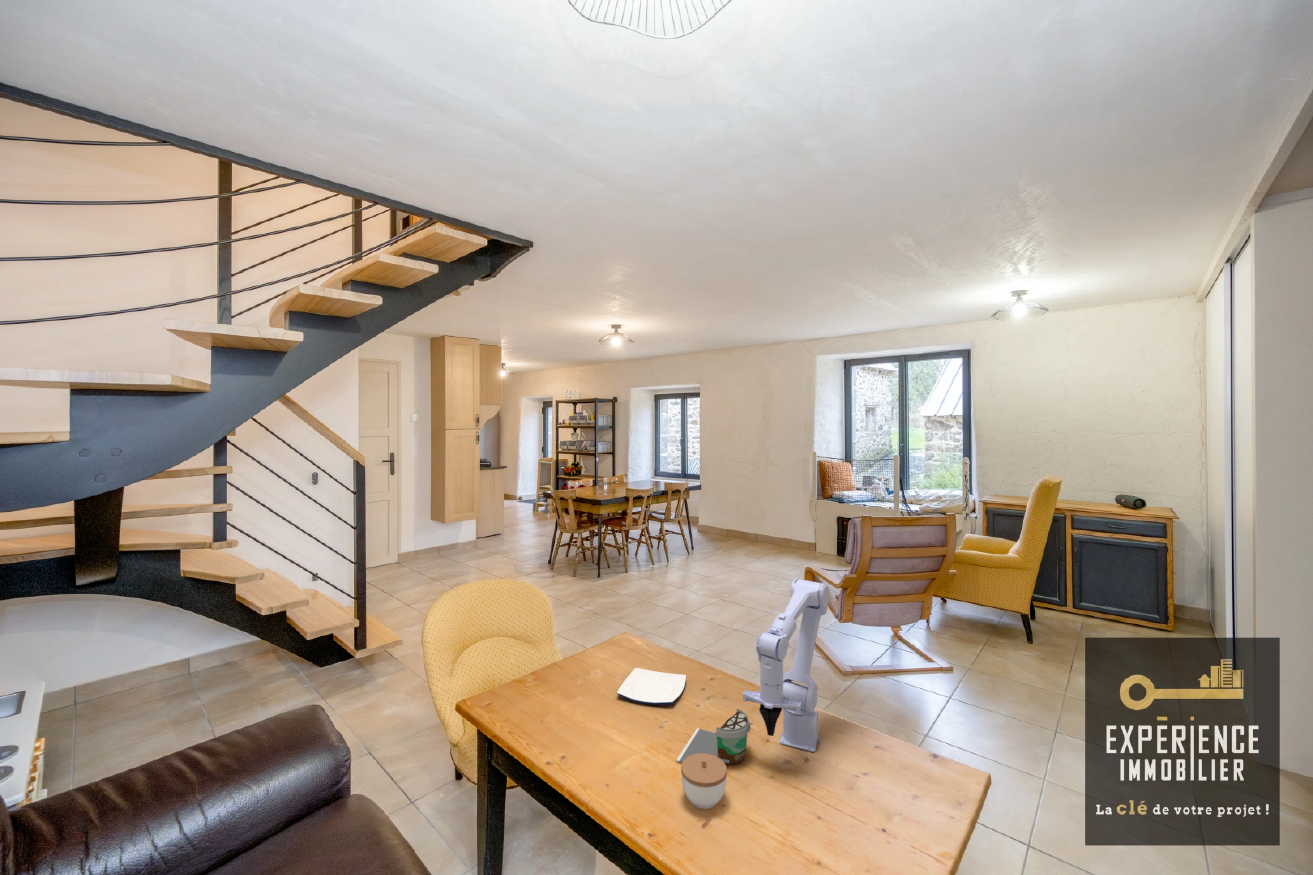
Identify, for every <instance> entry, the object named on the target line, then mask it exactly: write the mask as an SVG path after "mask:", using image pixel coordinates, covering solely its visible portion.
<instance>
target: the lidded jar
mask: <svg viewBox="0 0 1313 875" xmlns="http://www.w3.org/2000/svg"><path fill="white" fill-rule="evenodd" d="M680 764H681V765H680V772H681V784H682V789H683V791H684V794H685V796H686V798H687V799H688V801H689V802H691V804H692V805H693V806H694V807H695V808H698V809H702V810H709V809H712V808H713V807H715V806H716V804H718V803H719V802H720V800H722V798H723V797H724V794H725V792H726V791H725V790H726V786H727V775H728V767H727V766H726V765H725V763H724V762H723V761H722V760H721V759H720V758H718V757H716V756H714V755H711V754H706V753H698V754H693V755H690V756H688V757H687V758H685V759H684V761H683V762H682V763H680Z"/></svg>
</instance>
